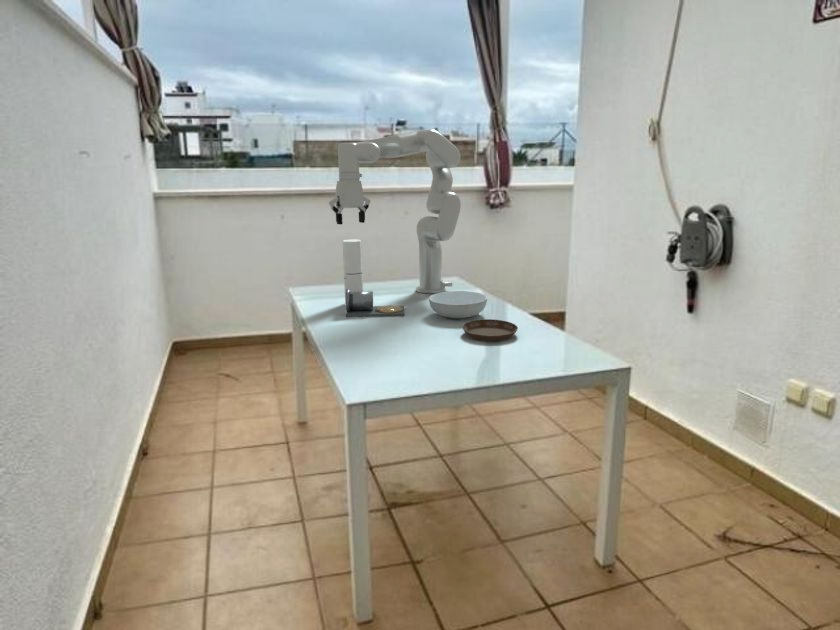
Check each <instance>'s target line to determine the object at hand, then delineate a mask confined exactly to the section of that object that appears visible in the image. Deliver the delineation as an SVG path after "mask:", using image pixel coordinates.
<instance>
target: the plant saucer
mask: <svg viewBox="0 0 840 630" xmlns="http://www.w3.org/2000/svg"><path fill="white" fill-rule="evenodd" d="M461 328H462V330H463V332H464V333H465V334H466V335H467V337H469V338H470V339H472V340H475V341H481V342H501V341H506V340H509V339H511V338H512V337H513V336H514V335H515V334H516V333H517V331H518V329H519V328H518V326H517V324H516V323H513V322H510V321H506V320H501V319H491V318H490V319H486V318H485V319H476V320H470V321H466V322H465V323H464V324H462V325H461Z"/></svg>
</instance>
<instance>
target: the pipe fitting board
mask: <svg viewBox="0 0 840 630" xmlns="http://www.w3.org/2000/svg"><path fill="white" fill-rule="evenodd" d="M345 309H346V313H345V317H346V318H372V317H373V318H379V317H382V318H384V317H385V318H386V317H387V318H388V317H405V306H404V305H393V304H392V305H390V304H389V305H374V291H372V290H371V291H370V290H369V291H364V290H363V292H351V291H350V289H346V305H345Z"/></svg>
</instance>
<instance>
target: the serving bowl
mask: <svg viewBox="0 0 840 630" xmlns="http://www.w3.org/2000/svg"><path fill="white" fill-rule="evenodd" d="M428 301H429V306H430V307H431V309H432V310H433V311H434V312H435V313H436V314H438V315H439V316H442V317H445V318H450V319H456V320H457V319H458V320H459V319H467V318H471V317H474V316H476V315H479V314H480V313H481V312H483V311H484V309H485V307H486V305H487V301H488V296H487V295H486V294H483V293H480V292H476V291H467V290H449V291H444V292H440V293H432V295H430V296H429V297H428Z"/></svg>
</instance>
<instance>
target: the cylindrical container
mask: <svg viewBox="0 0 840 630" xmlns="http://www.w3.org/2000/svg"><path fill="white" fill-rule="evenodd" d="M362 252H363V251H362V240H361V239H356V238H355V239H352V238H351V239H344V240H342V259H343V260H342V261H343V279H344V280H343V281H344V282H343V283H344V302H345V303H344V304H346V289H350V291H351V292H364V282H363V281H364V279H363V277H364V276H363V253H362Z"/></svg>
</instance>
